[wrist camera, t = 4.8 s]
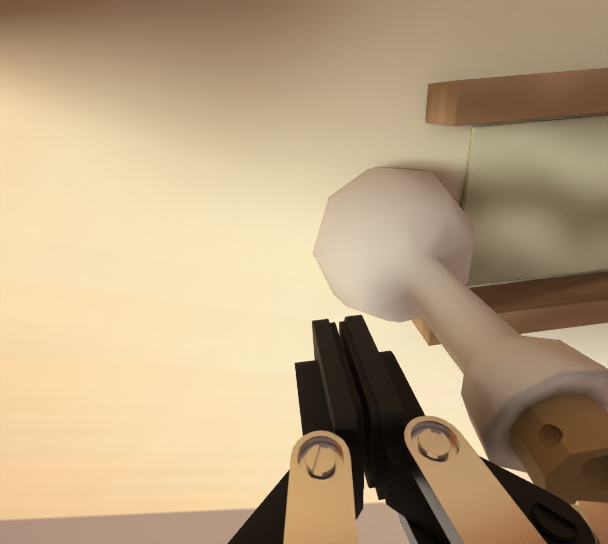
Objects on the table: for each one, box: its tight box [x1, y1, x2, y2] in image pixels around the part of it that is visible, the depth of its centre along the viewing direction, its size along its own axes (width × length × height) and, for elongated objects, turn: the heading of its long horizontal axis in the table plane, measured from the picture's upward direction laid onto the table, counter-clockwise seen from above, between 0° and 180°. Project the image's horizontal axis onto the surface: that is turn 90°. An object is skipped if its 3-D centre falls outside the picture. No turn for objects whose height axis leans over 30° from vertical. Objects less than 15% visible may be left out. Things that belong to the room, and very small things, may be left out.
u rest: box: [411, 68, 608, 346], centre depth 21 cm, size 16×22×5 cm
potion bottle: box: [313, 167, 608, 505], centre depth 15 cm, size 9×9×18 cm
